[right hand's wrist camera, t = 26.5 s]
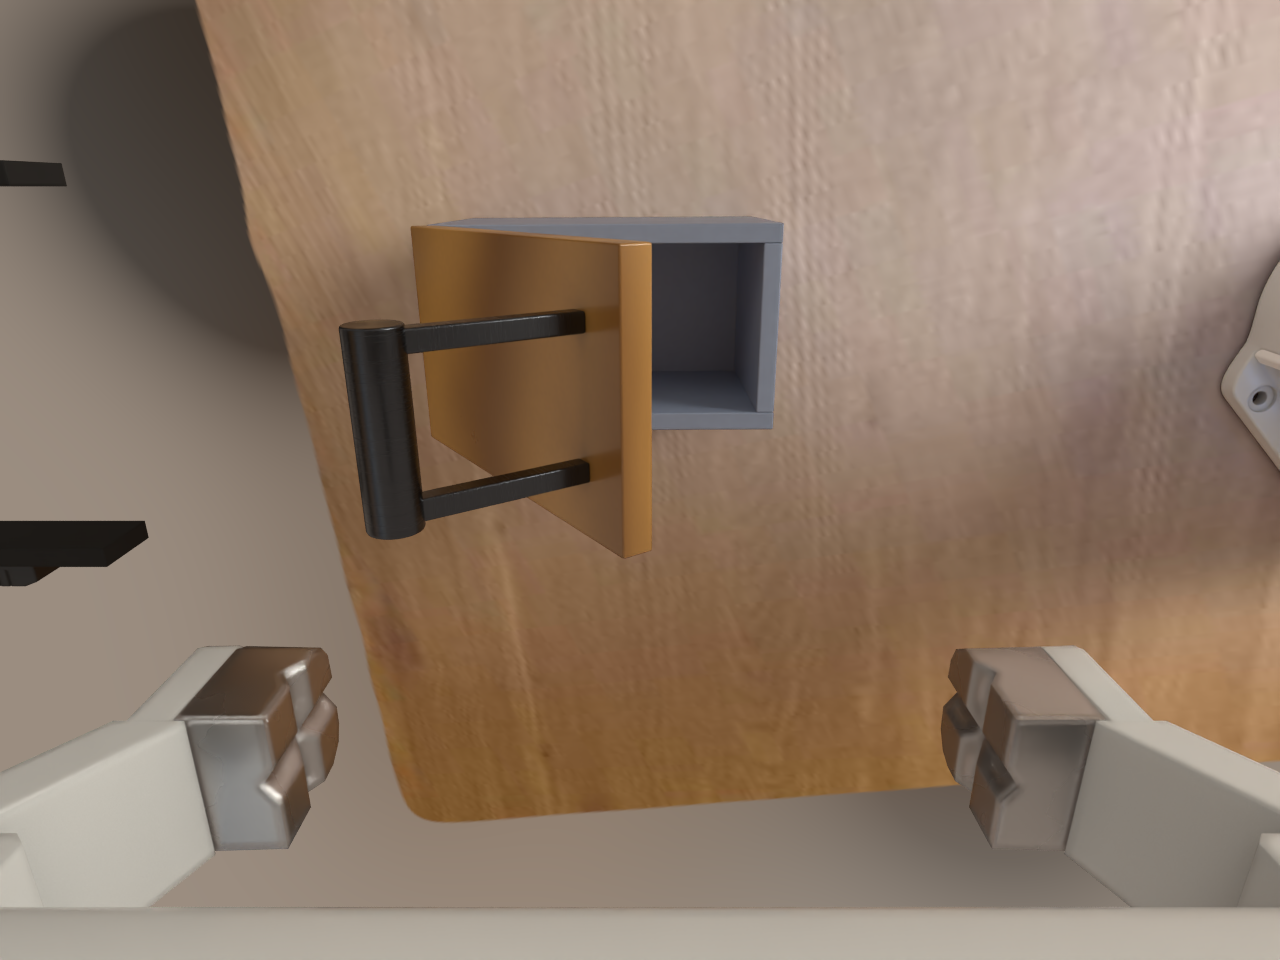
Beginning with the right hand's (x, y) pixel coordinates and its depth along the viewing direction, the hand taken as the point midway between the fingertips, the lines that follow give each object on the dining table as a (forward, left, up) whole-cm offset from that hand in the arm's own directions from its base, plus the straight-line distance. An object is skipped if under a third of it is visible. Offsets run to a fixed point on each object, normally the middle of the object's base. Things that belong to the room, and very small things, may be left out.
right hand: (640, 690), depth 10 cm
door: (+2, +4, -22) cm, 22 cm away
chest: (+1, +1, -40) cm, 40 cm away
